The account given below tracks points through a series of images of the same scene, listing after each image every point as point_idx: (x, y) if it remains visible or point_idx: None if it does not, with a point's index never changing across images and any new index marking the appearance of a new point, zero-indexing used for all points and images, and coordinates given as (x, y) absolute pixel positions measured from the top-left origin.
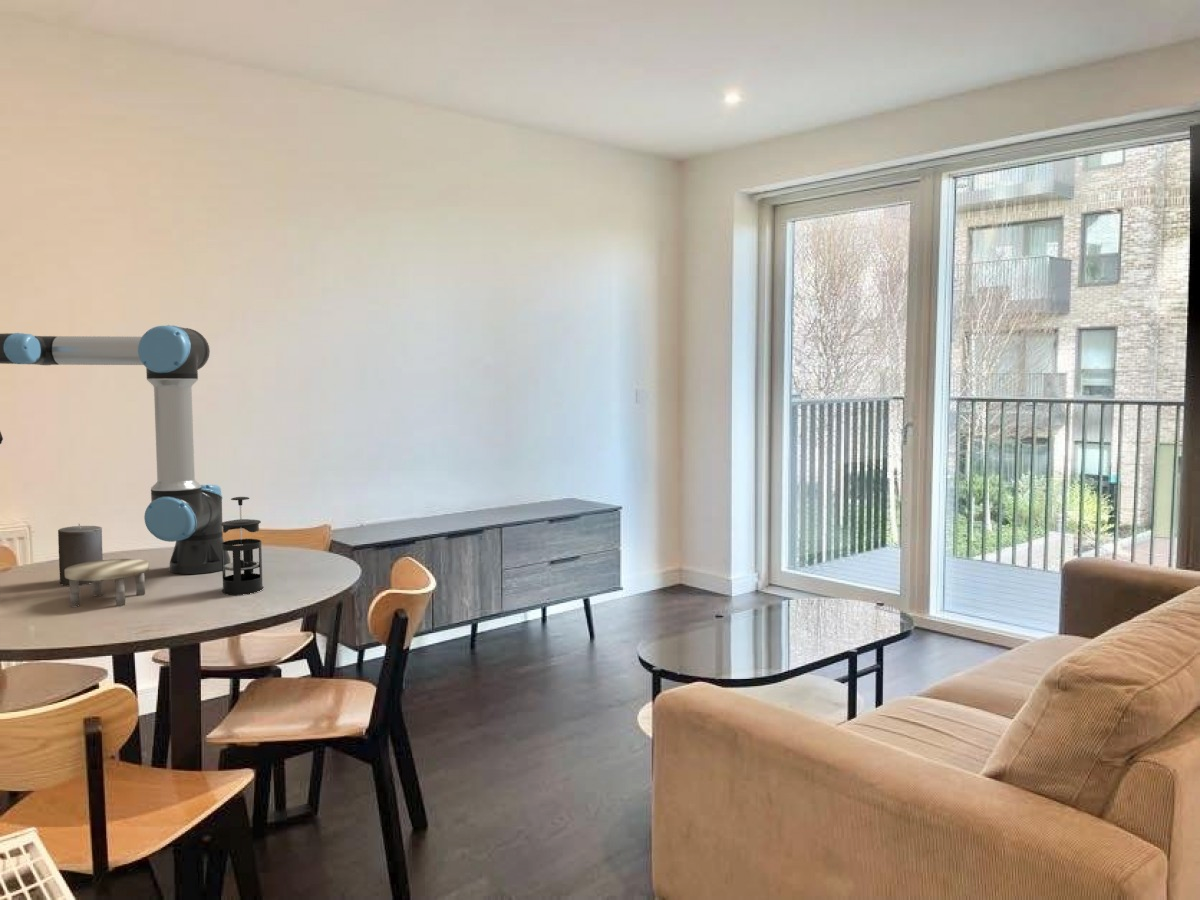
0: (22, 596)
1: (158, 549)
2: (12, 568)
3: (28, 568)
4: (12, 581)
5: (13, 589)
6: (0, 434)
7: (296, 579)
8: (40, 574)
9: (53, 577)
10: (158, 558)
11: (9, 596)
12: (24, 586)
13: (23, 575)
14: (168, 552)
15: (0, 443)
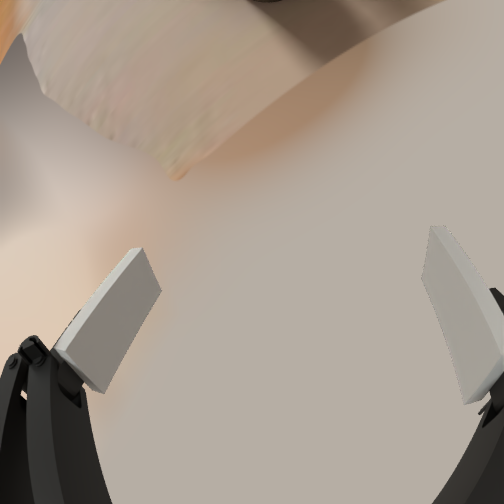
0: (389, 5)
1: (41, 72)
2: (186, 170)
3: (180, 143)
4: (283, 88)
5: (345, 44)
6: (2, 384)
7: None
8: (220, 81)
9: (241, 40)
10: (86, 11)
11: (392, 24)
12: (320, 40)
13: (233, 105)
14: (53, 39)
15: (34, 337)
